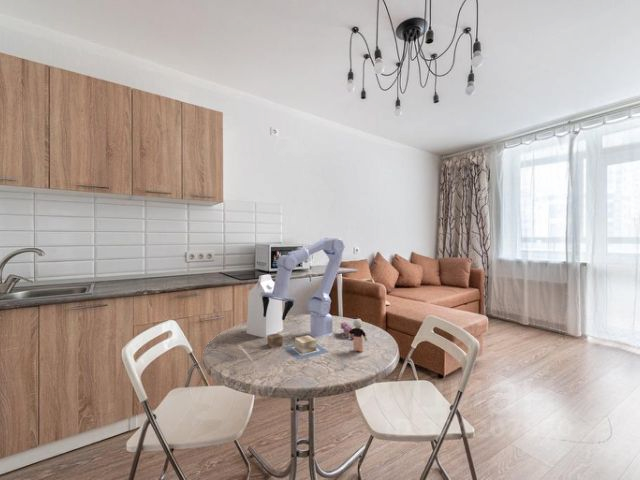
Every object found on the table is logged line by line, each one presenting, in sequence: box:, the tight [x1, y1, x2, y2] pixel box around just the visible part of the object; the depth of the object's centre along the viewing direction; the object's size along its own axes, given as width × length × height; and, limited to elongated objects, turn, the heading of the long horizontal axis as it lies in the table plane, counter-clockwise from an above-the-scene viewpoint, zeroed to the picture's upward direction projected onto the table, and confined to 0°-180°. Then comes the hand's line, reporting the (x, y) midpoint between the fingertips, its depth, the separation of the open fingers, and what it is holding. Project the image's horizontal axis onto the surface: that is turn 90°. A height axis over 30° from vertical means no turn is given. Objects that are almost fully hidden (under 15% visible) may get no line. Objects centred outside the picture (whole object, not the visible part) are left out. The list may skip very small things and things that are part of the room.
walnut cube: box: [266, 332, 283, 349], centre depth 115 cm, size 4×4×4 cm
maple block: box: [294, 334, 317, 354], centre depth 111 cm, size 6×6×4 cm
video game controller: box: [339, 321, 354, 340], centre depth 127 cm, size 10×5×7 cm, turn 5°
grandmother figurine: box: [347, 318, 368, 353], centre depth 110 cm, size 8×4×13 cm, turn 71°
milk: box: [246, 274, 284, 339], centre depth 132 cm, size 12×12×26 cm
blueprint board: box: [282, 343, 329, 360], centre depth 111 cm, size 13×13×1 cm
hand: (273, 318), depth 115 cm, fingers open, 7 cm apart
